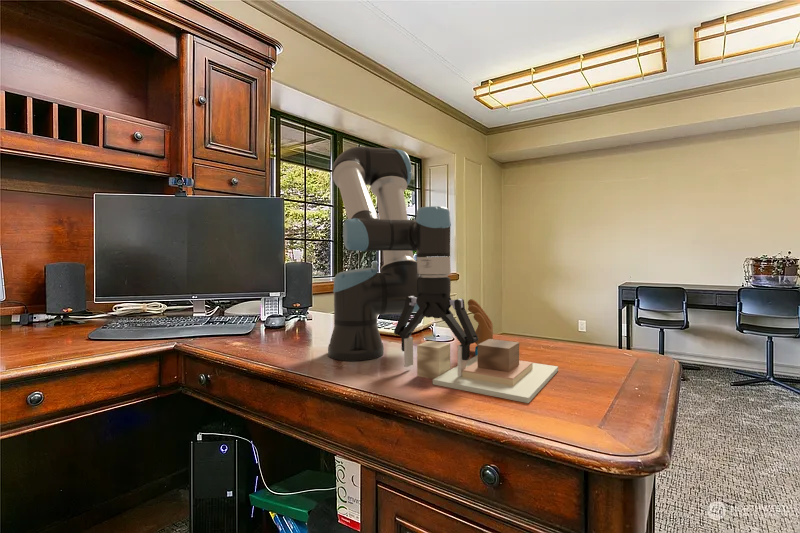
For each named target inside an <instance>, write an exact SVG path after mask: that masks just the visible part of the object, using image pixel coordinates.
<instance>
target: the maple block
mask: <svg viewBox="0 0 800 533" xmlns="http://www.w3.org/2000/svg"><path fill="white" fill-rule="evenodd" d="M416 362H417V363H416V365H417V366H416V368H417V369H416V373H417V374H416V376H417V377H421V378H427V379H432V380H433V379H435V378H436V377H438V376H440V375H442V374H444V373H445V372H447V371H449V370H451V343H447V342H442V341H441V342H440V341H436V340H427V341H424V342H422V343H420V344H417V345H416Z"/></svg>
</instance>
